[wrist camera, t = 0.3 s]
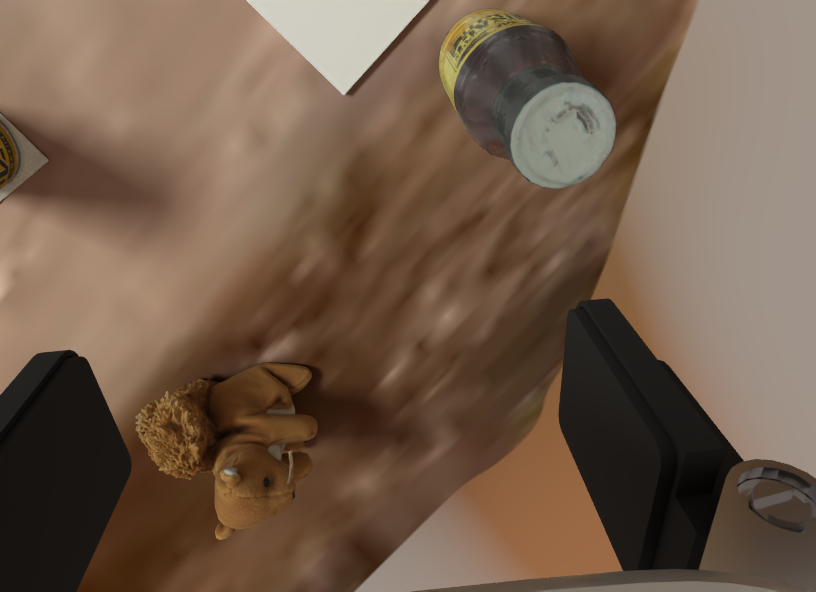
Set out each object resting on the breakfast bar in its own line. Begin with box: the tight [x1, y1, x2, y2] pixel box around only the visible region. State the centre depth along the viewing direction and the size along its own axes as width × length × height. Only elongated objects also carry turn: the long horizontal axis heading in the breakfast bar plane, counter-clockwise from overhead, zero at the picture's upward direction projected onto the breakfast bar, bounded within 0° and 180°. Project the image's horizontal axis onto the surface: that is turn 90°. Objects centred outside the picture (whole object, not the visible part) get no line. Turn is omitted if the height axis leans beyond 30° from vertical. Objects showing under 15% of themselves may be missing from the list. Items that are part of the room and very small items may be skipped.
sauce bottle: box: [439, 9, 617, 189], centre depth 29 cm, size 6×6×20 cm
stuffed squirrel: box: [136, 363, 318, 539], centre depth 45 cm, size 10×14×13 cm
